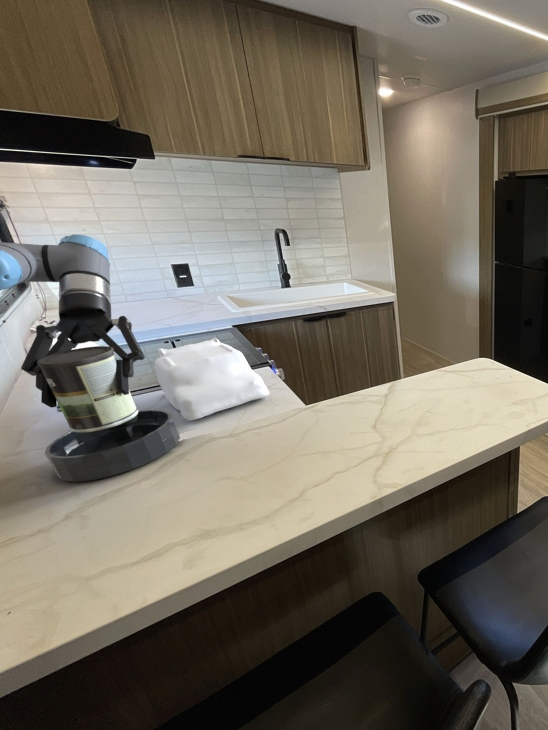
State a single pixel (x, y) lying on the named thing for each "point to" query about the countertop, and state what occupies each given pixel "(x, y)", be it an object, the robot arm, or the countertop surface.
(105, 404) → the coffee can
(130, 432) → the shallow grey round dish
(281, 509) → the countertop surface
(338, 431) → the countertop surface
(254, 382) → the white bag
